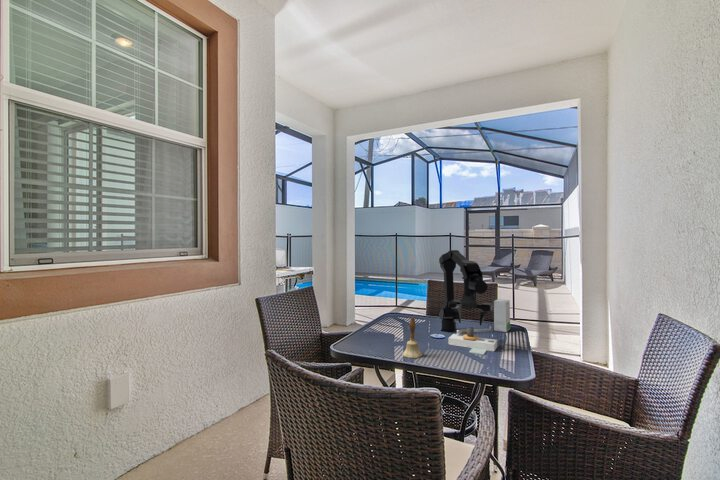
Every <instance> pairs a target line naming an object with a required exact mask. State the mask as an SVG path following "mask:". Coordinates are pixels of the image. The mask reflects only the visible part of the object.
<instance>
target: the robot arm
mask: <svg viewBox="0 0 720 480" xmlns="http://www.w3.org/2000/svg"><path fill="white" fill-rule="evenodd" d="M438 262H439V265H440V266H439V267H440V268H441V271H442V272H443V285H444V286H443V287H444V288H443V289H444V290H443V291H444V300H443V302H442V304H441V309H440V311H439V313H438V317H439V319H440V320H441V329H440V331H441V332H446V333H447V332H448V333H454V332H455V331H457V322H456V320H458V323H459V324H461V323H462V310H464V309H466V310H469V311H470V310H473V309H480V311H479V312H480V317H479V326H482V325H483V322H484V319H485V317H486V314H488V313H489V312H492V310H494V304H493V303H492V302H482V303H478V298H477V297H478V294H480V295H482V294H486V292H487V290H488V284H487V282H486V281H485V280H484V277H483V275H484V274H483V272H482V270H481V268H480V265H479V264H478V263H477V262H476V261H473V260H469V259H467V258H466V257H465V256H464V255H463V254H462V252H460V251H459V250H457V249H453V250H452V249H451V250H448V251H447V252H445V253H443V254H441V256H439V260H438ZM457 265H458V267H459V268H460V269H459V271H460V272H461V274H462V277H461V278H462V280H463V293H462V297H461V300H460V299H455V290H454V289H455V288H454V287H455V286H454V285H455V284H454V283H455V282H454V272H455V270H456V267H457Z"/></svg>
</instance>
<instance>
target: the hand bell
mask: <svg viewBox="0 0 720 480" xmlns="http://www.w3.org/2000/svg"><path fill="white" fill-rule="evenodd" d="M416 325H417V324H416V320H415V317H414V316H411V317H410V320H409V324H408V327H409V331H410V332H409V333H410V335H409V336H410V338H409V339H410V340H408V341H406V347H405V350H404V351H402V356H403V357H405V358H409V359H419V358H421V357H423V353H422V352H421V351H420V349H419V345H418V344H419V343H418V341H416V340H415V330H416Z"/></svg>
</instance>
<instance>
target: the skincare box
mask: <svg viewBox="0 0 720 480" xmlns="http://www.w3.org/2000/svg"><path fill="white" fill-rule="evenodd" d="M510 301H511V300H510V299H501V298H500V299H495V300H493V330H494V331H495V332H503V333H507V332H508V331H509V330H510V329H511V308H510V306H511V305H510V304H511V303H510Z"/></svg>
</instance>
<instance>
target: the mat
mask: <svg viewBox="0 0 720 480" xmlns="http://www.w3.org/2000/svg"><path fill="white" fill-rule="evenodd" d="M487 351H488V350H484V349H477V348H471V349H470V350H469V352H468V353H470V354H476V355H480V356H481V355H482V356H484V355H485V354H486V353H487Z"/></svg>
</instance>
